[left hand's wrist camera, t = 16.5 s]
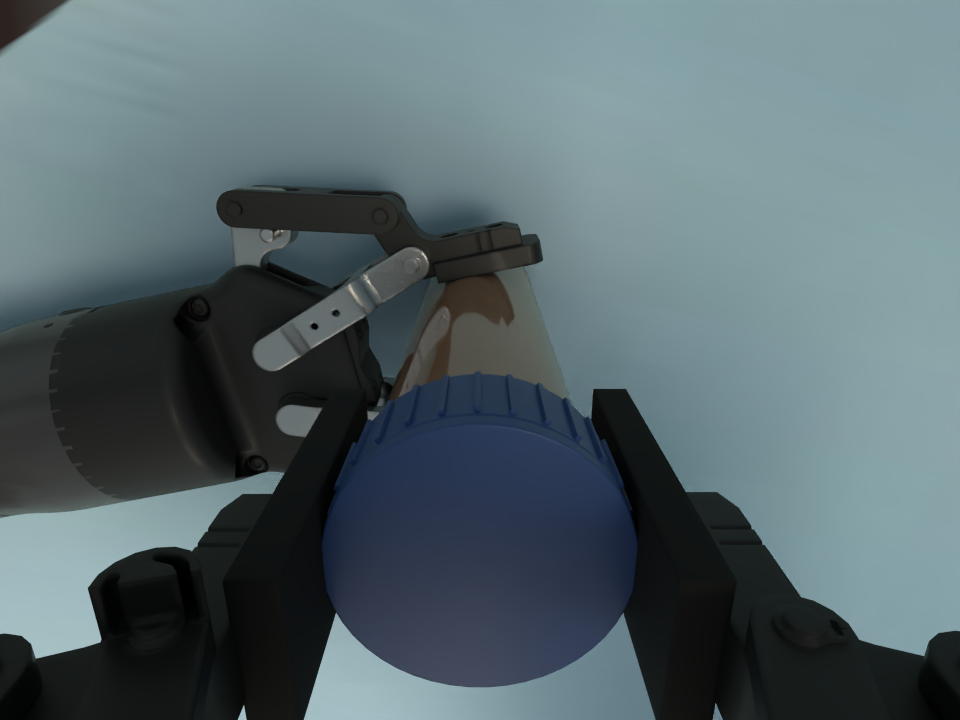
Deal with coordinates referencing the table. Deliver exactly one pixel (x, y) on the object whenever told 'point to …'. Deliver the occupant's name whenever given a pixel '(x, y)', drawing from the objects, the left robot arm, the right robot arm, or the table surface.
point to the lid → (479, 533)
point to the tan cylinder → (480, 334)
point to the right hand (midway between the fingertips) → (549, 318)
